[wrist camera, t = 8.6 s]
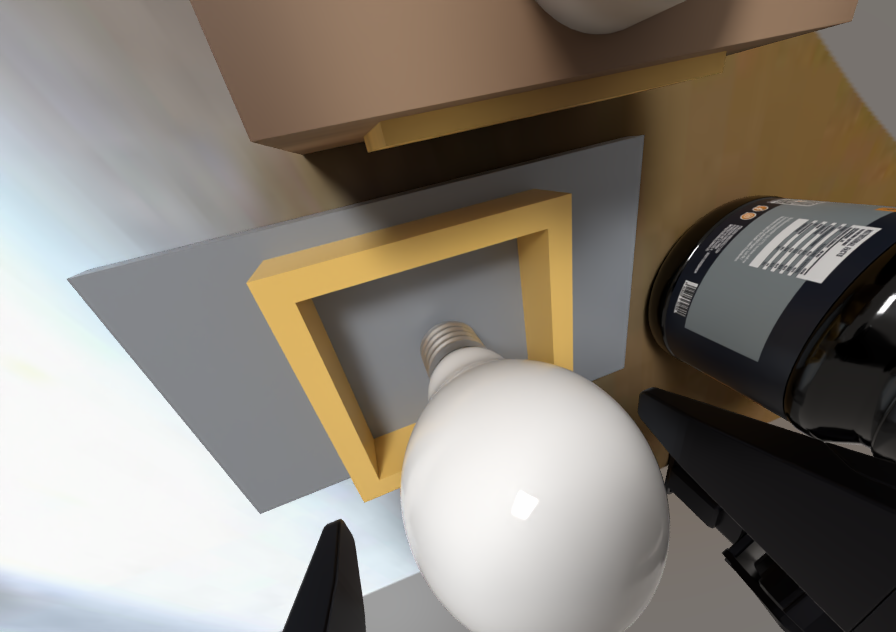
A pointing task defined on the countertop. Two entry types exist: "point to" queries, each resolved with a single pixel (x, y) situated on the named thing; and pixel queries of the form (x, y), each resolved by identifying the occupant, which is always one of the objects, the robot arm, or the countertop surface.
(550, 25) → the lamp unit
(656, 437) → the robot arm
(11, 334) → the countertop surface
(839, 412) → the supplement container
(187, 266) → the board
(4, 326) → the countertop surface
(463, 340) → the lightbulb
